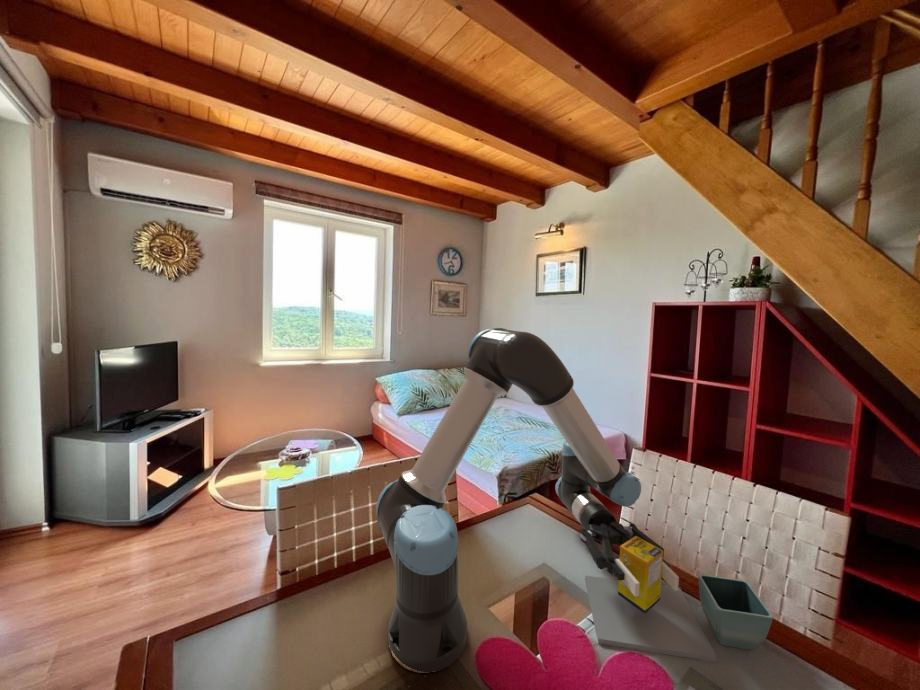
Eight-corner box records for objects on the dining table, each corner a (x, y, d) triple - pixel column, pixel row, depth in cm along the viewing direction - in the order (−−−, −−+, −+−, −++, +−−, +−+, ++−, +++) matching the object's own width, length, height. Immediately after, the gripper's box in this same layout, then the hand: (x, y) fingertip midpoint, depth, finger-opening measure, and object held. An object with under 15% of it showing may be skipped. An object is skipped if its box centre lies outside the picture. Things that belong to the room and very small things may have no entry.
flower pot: (770, 663, 65) (775, 617, 64) (714, 653, 66) (718, 609, 65) (742, 620, 73) (746, 580, 72) (694, 613, 75) (697, 573, 74)
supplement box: (632, 581, 78) (635, 534, 77) (661, 600, 73) (664, 550, 72) (616, 594, 75) (619, 545, 74) (645, 614, 70) (648, 562, 69)
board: (598, 643, 68) (598, 638, 68) (585, 579, 84) (585, 575, 84) (716, 662, 65) (716, 657, 65) (679, 591, 80) (679, 587, 80)
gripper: (630, 525, 93) (703, 597, 71) (554, 534, 90) (606, 612, 67) (631, 498, 92) (706, 561, 70) (555, 506, 89) (608, 575, 67)
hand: (657, 586), depth 69 cm, fingers closed on supplement box, 8 cm apart
